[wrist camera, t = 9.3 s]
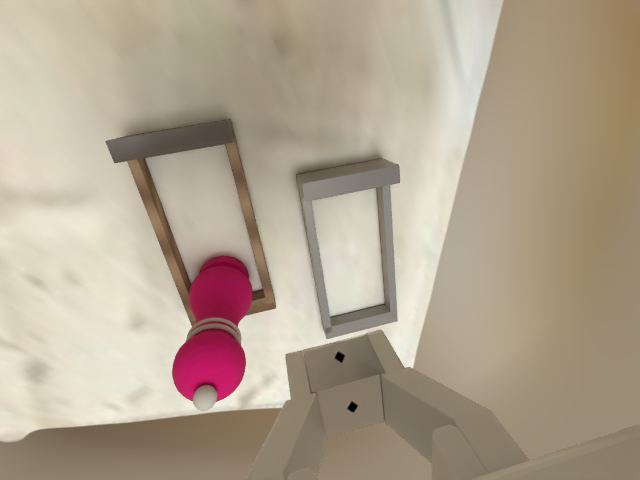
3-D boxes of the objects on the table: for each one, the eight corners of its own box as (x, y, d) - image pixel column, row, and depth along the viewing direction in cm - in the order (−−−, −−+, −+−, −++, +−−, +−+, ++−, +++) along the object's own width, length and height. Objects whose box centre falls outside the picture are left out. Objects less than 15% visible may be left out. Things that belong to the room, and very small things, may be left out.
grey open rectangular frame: (296, 174, 38) (302, 184, 34) (382, 158, 40) (399, 165, 35) (323, 330, 48) (331, 353, 44) (392, 313, 50) (406, 334, 45)
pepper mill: (229, 241, 40) (211, 353, 22) (263, 281, 43) (271, 407, 25) (183, 272, 41) (127, 407, 22) (219, 309, 44) (197, 454, 26)
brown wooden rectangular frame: (125, 136, 33) (105, 141, 29) (230, 119, 35) (227, 121, 30) (195, 318, 43) (188, 343, 39) (275, 300, 45) (277, 322, 40)
